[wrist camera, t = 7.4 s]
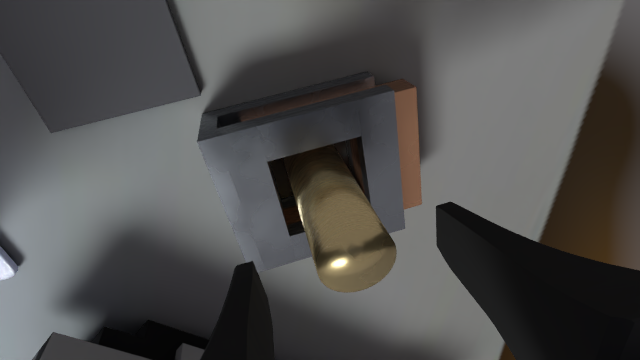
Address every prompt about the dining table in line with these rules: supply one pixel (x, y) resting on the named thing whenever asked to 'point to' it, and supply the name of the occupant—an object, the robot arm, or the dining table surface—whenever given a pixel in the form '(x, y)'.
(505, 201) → the dining table surface
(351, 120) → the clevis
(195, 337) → the game console
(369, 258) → the brass peg
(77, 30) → the rubber mat
